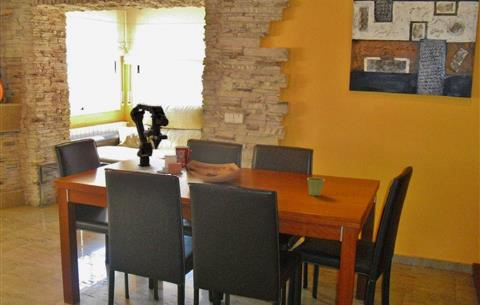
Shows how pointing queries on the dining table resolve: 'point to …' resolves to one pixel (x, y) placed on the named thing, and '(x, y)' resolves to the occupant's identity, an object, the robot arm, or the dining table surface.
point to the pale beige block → (170, 160)
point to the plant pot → (315, 185)
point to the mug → (182, 155)
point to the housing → (172, 169)
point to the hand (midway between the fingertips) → (156, 149)
